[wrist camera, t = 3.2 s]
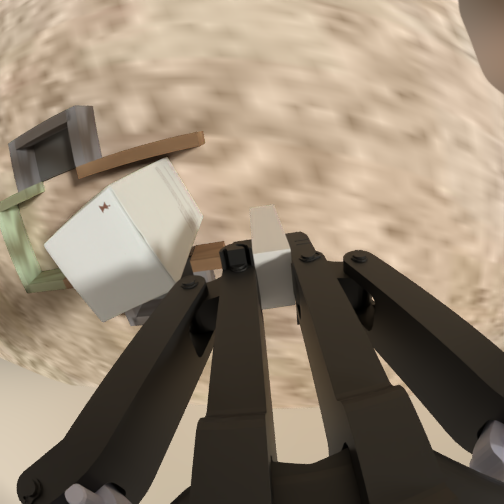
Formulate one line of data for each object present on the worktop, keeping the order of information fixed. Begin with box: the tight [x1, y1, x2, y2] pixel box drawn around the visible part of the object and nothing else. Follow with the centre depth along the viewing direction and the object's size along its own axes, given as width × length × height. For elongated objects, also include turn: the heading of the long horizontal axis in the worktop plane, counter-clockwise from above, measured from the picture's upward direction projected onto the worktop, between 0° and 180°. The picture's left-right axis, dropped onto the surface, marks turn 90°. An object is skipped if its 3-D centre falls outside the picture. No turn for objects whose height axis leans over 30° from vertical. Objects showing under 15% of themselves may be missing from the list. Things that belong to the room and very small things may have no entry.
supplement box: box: [44, 157, 203, 322], centre depth 21 cm, size 7×7×13 cm
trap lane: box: [0, 106, 225, 326], centre depth 25 cm, size 24×27×4 cm
